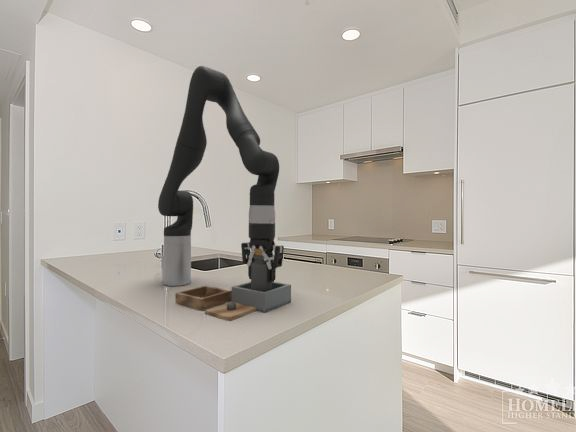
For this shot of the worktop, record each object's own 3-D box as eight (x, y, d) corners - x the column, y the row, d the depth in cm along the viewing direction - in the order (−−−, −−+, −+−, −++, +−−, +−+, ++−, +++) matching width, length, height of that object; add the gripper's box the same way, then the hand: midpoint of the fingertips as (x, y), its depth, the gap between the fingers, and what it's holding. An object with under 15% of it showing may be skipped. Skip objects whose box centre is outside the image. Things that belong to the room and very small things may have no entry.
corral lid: (204, 313, 81) (204, 305, 81) (232, 304, 89) (232, 297, 89) (229, 320, 76) (229, 312, 76) (257, 310, 84) (257, 302, 84)
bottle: (268, 304, 87) (269, 250, 86) (247, 302, 88) (248, 249, 87) (273, 298, 93) (274, 247, 92) (254, 297, 94) (255, 246, 93)
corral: (175, 303, 89) (175, 293, 89) (206, 295, 98) (206, 285, 98) (201, 310, 83) (201, 299, 83) (231, 301, 92) (231, 290, 92)
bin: (231, 304, 89) (231, 286, 89) (259, 295, 99) (259, 279, 98) (264, 312, 82) (264, 293, 82) (291, 301, 92) (291, 284, 92)
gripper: (234, 221, 91) (233, 279, 91) (274, 222, 83) (273, 286, 83) (251, 220, 97) (251, 275, 97) (290, 222, 89) (289, 281, 89)
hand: (261, 280), depth 90 cm, fingers open, 6 cm apart
